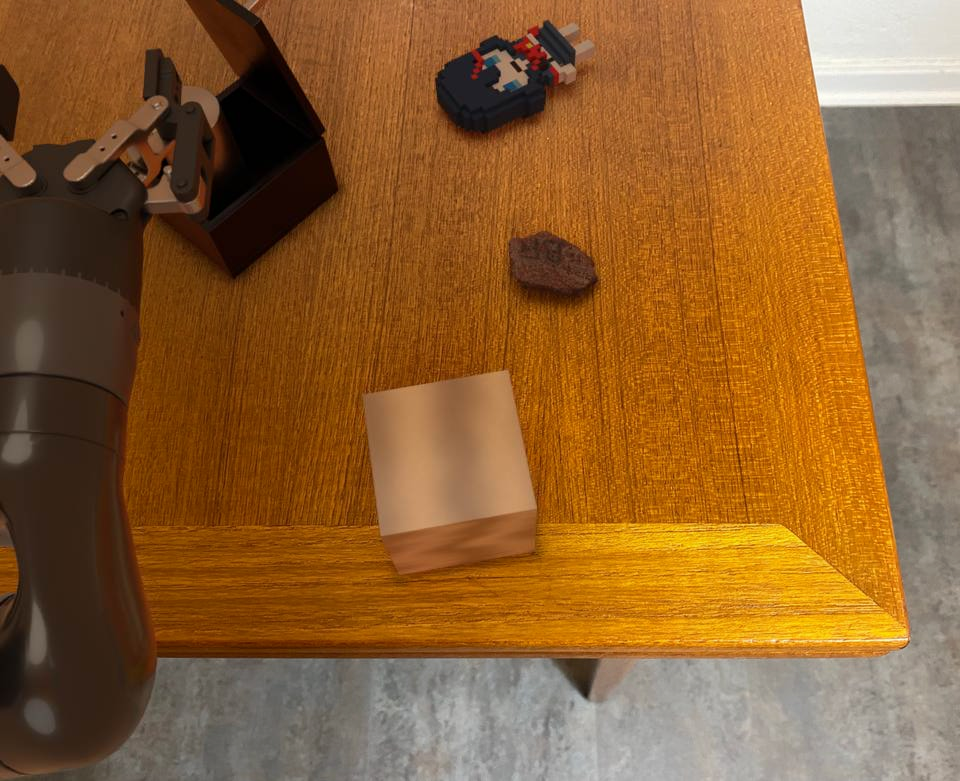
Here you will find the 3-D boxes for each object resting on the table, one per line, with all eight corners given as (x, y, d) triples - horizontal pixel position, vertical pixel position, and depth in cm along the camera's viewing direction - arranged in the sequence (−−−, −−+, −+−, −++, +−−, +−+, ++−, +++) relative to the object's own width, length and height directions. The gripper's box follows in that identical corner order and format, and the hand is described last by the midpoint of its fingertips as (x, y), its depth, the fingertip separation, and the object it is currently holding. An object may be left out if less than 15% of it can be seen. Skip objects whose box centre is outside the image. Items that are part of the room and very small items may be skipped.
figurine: (612, 52, 79) (469, 122, 77) (608, 87, 83) (472, 155, 80) (559, -5, 83) (420, 59, 80) (557, 31, 87) (424, 94, 84)
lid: (253, 26, 60) (303, -25, 61) (156, -42, 63) (204, -89, 64) (320, 137, 73) (360, 94, 73) (236, 75, 76) (275, 35, 77)
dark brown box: (233, 279, 75) (208, 232, 69) (156, 214, 79) (126, 163, 73) (339, 189, 79) (324, 137, 73) (261, 131, 83) (241, 76, 76)
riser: (399, 575, 64) (380, 536, 55) (382, 449, 68) (362, 394, 59) (534, 551, 64) (537, 508, 55) (509, 427, 69) (508, 369, 60)
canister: (199, 241, 76) (146, 147, 66) (197, 190, 79) (146, 91, 68) (263, 230, 77) (221, 135, 66) (259, 180, 79) (218, 80, 68)
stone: (504, 246, 76) (504, 224, 73) (588, 237, 76) (591, 215, 73) (513, 312, 73) (513, 292, 70) (600, 303, 73) (604, 283, 70)
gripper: (178, 260, 38) (188, -2, 45) (-152, 297, 38) (-90, 26, 45) (227, 342, 45) (230, 103, 52) (-52, 373, 45) (-12, 128, 52)
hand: (81, 68), depth 49 cm, fingers open, 8 cm apart
